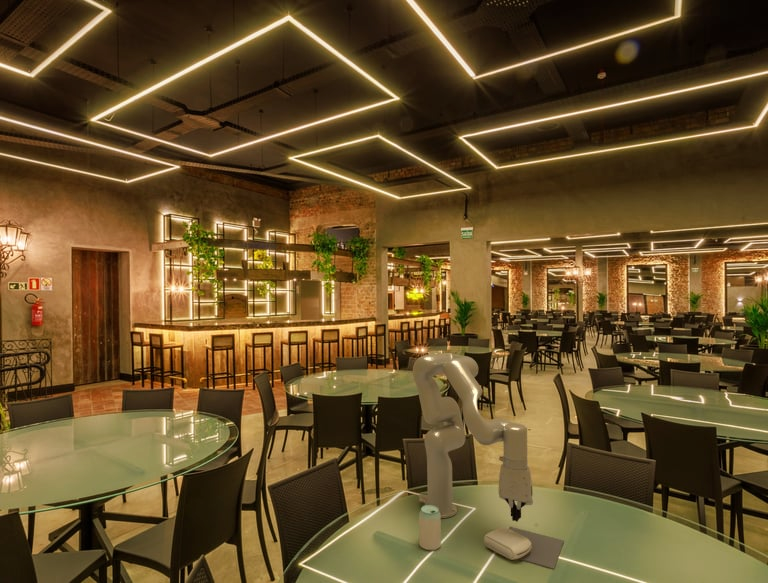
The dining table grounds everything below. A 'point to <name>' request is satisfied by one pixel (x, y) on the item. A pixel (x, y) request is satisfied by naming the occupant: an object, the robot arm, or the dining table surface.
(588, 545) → the dining table surface
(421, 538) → the can
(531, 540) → the rubber mat
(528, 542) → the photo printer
